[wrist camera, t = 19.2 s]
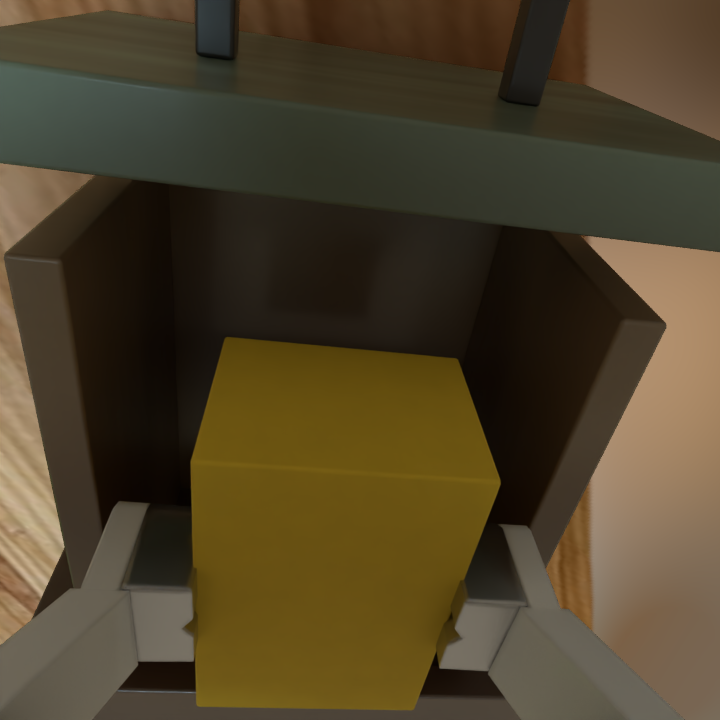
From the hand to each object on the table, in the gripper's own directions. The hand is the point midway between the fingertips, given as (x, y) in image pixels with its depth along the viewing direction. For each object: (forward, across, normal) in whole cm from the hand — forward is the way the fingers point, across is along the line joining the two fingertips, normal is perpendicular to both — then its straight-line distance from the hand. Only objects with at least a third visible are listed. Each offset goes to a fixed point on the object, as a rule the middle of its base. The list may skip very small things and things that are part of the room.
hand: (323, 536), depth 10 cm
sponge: (+2, 0, 0) cm, 2 cm away
